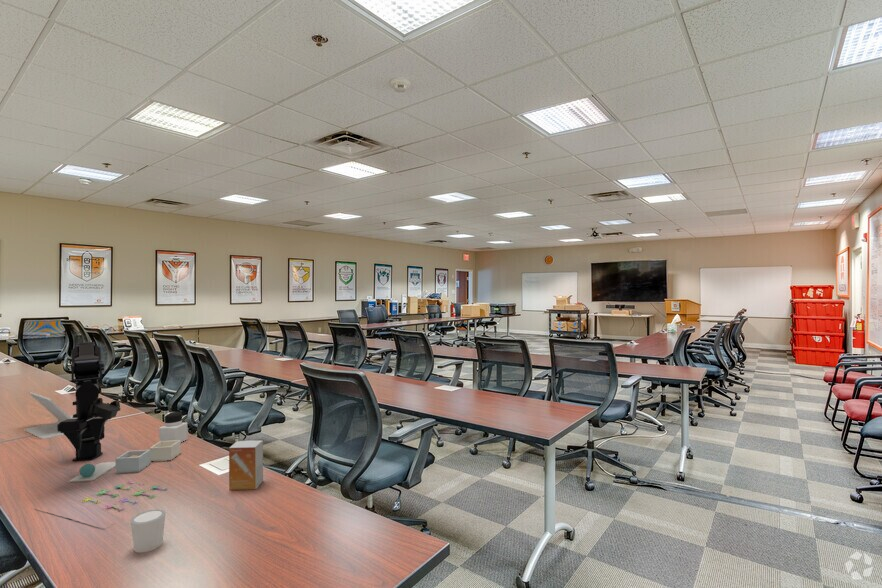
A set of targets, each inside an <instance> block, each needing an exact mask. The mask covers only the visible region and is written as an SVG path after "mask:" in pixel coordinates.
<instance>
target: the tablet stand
mask: <svg viewBox="0 0 882 588" xmlns="http://www.w3.org/2000/svg"><path fill="white" fill-rule="evenodd" d="M29 395H30V396H31V397H32V398H33V399H35V400H36V401H37V402H38V403H39V404H40V405H41V406H43V407H44V408H45V410H47V411H48V412H49V413H50V414H52V416H53V417H55V418H56V419H57V421H56V422H50V423H45V424H41V425H36V426H31V427H27V428H23V431H24V430H25V431H24V432H26V431H27V432H26V433H28V432H29V433H28V434H30V433H31V434H30V435H32V434H33V435H32V436H34V435H35V436H34V437H36V436H37V437H36V438H38V437H39V438H38V439H40V438H41V439H40V440H42V439H44V440H48V439H47V438H49V439H53V438H56V437H57V436H58V437H62V436H65V435H64V434H63V433H61V432H58V431H57V425H58V424H59V423H60V422H62V421H64V420H67V419H77V418H73V415H74V414H71V415H70V414H68V413H67V412H65V410H64V409H63V408H62V407H60V406H59V405H58V404H57V403H56V402H55V401H54V400H53V399H52V398H50V397H49V396H48V397H47V396H44V395H41V394H39V393H35V392H33V391H30V392H29ZM61 435H62V436H61ZM52 437H53V438H52Z"/></svg>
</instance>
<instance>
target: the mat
mask: <svg viewBox="0 0 882 588" xmlns="http://www.w3.org/2000/svg"><path fill="white" fill-rule="evenodd" d="M94 466H95V472H94V473H93V474H92V475H91V476H88V477H83V476H81V475H80V474H79V475H77V476H75V477H74V478H72V479H70V480H68V483H81V482H82V483H83V482H93V481H96V480H97V479H98V478H100V477H101V476H103V475H105V474H106V473H108V472H109V471H111V470H112V469H114V468H116V461H107V462H99V463H97V464H95V465H94Z"/></svg>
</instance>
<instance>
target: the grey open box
mask: <svg viewBox="0 0 882 588" xmlns="http://www.w3.org/2000/svg"><path fill="white" fill-rule="evenodd" d="M133 455H137V456H138V457H130V456H133ZM115 462H116V466H115V475H117V474H118V475H119V474H131V473H132V474H133V473H134V474H135V473H140V472H141V470H142V471H143V470H145V467H146V466H147V467H148V466H149V464H150V465H151V464H152V462H151V453H150V449H142V450H141V449H140V450H139V449H138V450H128V451H126V452H124V453H122V454H121V455H119V456H118V457H116V458H115ZM147 467H146V468H147Z"/></svg>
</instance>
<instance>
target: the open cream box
mask: <svg viewBox="0 0 882 588" xmlns="http://www.w3.org/2000/svg"><path fill="white" fill-rule="evenodd" d="M181 444H182V443H181V440H173V441H160V442H159V441H158V442H156V443H155V444H154V445H151V447H149V450H150V453H151V461H160V462H168V461H167V460H172V459H173V460H175V459H176V458H177V457H178V456H180V455H181V454H182V447H181ZM180 453H181V454H180ZM179 454H180V455H179ZM177 455H178V456H177ZM176 456H177V457H176ZM175 457H176V458H175ZM173 460H172V461H173Z"/></svg>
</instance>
